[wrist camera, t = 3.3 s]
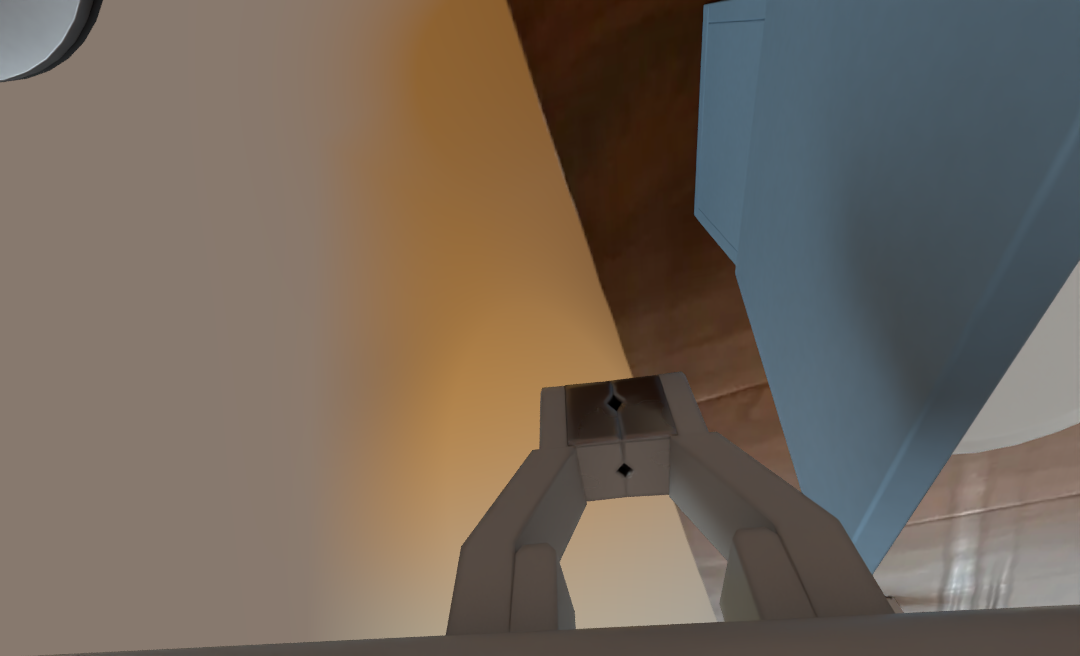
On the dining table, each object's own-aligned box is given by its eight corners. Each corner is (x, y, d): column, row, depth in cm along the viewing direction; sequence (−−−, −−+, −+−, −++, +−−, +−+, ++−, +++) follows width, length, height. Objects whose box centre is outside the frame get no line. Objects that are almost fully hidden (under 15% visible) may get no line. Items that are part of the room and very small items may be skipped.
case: (1003, -61, 22) (1228, -107, 15) (918, 178, 29) (1040, 225, 22) (703, 4, 24) (773, -9, 16) (693, 215, 31) (739, 270, 24)
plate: (802, 347, 38) (809, 355, 37) (1242, 101, 26) (1270, 104, 25) (904, 478, 51) (911, 487, 50) (1238, 351, 38) (1257, 360, 37)
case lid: (1322, -96, 3) (1183, -69, 3) (864, 590, 11) (829, 585, 11) (789, -12, 16) (767, -7, 16) (749, 273, 23) (734, 274, 24)
